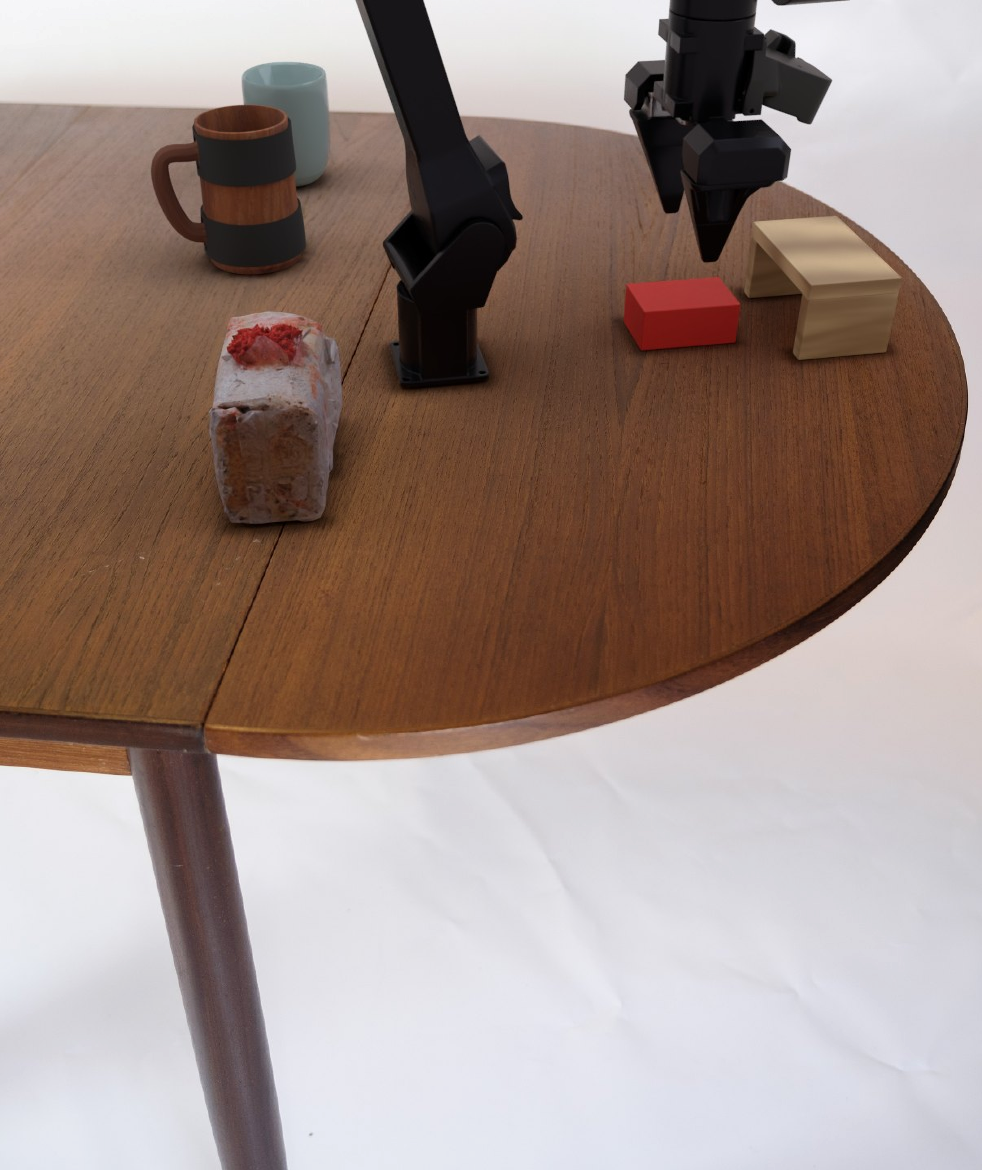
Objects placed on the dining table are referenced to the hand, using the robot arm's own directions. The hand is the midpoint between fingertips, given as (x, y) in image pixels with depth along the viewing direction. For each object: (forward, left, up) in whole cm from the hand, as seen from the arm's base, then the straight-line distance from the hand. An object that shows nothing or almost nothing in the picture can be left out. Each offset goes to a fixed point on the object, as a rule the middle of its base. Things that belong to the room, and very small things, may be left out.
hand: (689, 236), depth 94 cm
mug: (+20, +33, -8) cm, 40 cm away
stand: (0, -11, -8) cm, 13 cm away
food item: (-14, +31, -8) cm, 35 cm away
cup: (+38, +27, -8) cm, 47 cm away
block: (0, 0, -8) cm, 8 cm away
